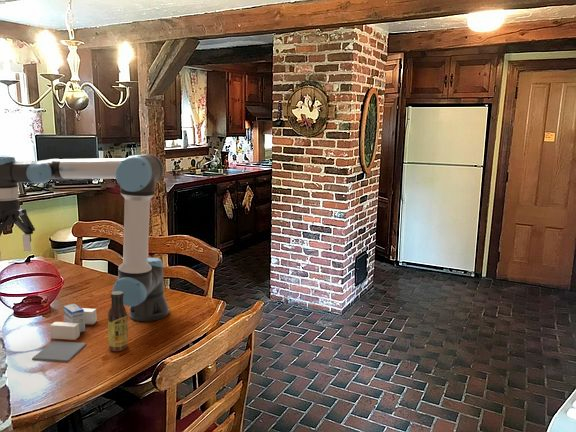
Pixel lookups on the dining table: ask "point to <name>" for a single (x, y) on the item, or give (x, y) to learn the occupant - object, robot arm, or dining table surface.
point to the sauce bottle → (117, 323)
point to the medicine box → (74, 315)
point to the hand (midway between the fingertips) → (13, 255)
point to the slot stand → (71, 326)
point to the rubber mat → (59, 351)
